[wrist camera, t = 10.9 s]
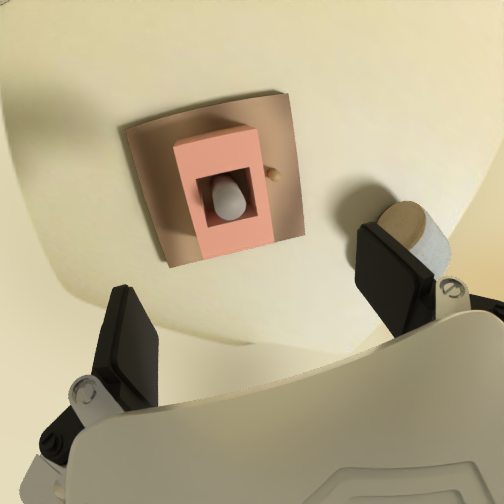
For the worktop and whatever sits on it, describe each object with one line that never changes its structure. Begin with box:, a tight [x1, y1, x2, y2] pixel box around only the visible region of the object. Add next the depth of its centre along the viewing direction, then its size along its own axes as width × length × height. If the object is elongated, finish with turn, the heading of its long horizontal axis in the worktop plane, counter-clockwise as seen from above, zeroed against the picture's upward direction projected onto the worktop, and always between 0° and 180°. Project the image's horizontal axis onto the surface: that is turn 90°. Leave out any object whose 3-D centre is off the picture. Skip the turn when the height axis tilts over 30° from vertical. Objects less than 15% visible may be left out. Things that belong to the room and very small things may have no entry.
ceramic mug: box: [377, 201, 451, 280], centre depth 29 cm, size 11×8×8 cm
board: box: [125, 93, 305, 268], centre depth 22 cm, size 14×14×6 cm
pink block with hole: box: [173, 125, 275, 260], centre depth 22 cm, size 9×6×4 cm, turn 10°
